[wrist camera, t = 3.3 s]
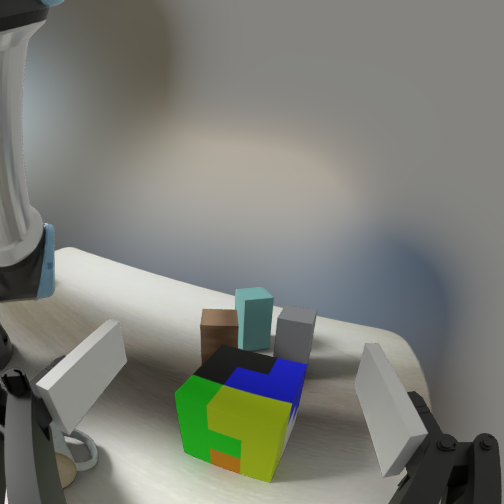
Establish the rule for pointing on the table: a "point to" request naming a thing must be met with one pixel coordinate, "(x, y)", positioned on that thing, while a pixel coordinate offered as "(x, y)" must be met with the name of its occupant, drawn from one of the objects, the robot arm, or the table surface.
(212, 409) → the puzzle toy
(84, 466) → the ceramic mug
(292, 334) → the grey block
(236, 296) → the teal block
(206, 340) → the walnut block
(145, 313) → the table surface
